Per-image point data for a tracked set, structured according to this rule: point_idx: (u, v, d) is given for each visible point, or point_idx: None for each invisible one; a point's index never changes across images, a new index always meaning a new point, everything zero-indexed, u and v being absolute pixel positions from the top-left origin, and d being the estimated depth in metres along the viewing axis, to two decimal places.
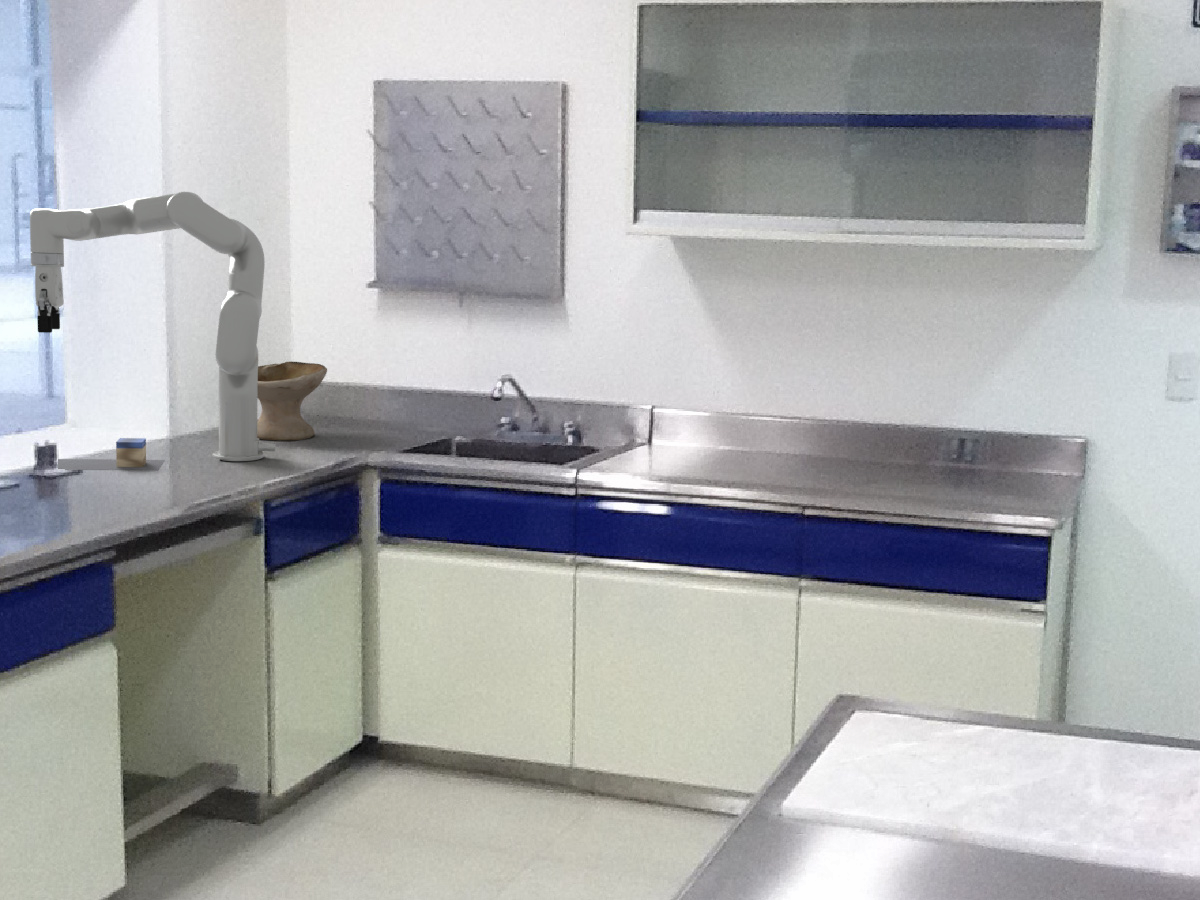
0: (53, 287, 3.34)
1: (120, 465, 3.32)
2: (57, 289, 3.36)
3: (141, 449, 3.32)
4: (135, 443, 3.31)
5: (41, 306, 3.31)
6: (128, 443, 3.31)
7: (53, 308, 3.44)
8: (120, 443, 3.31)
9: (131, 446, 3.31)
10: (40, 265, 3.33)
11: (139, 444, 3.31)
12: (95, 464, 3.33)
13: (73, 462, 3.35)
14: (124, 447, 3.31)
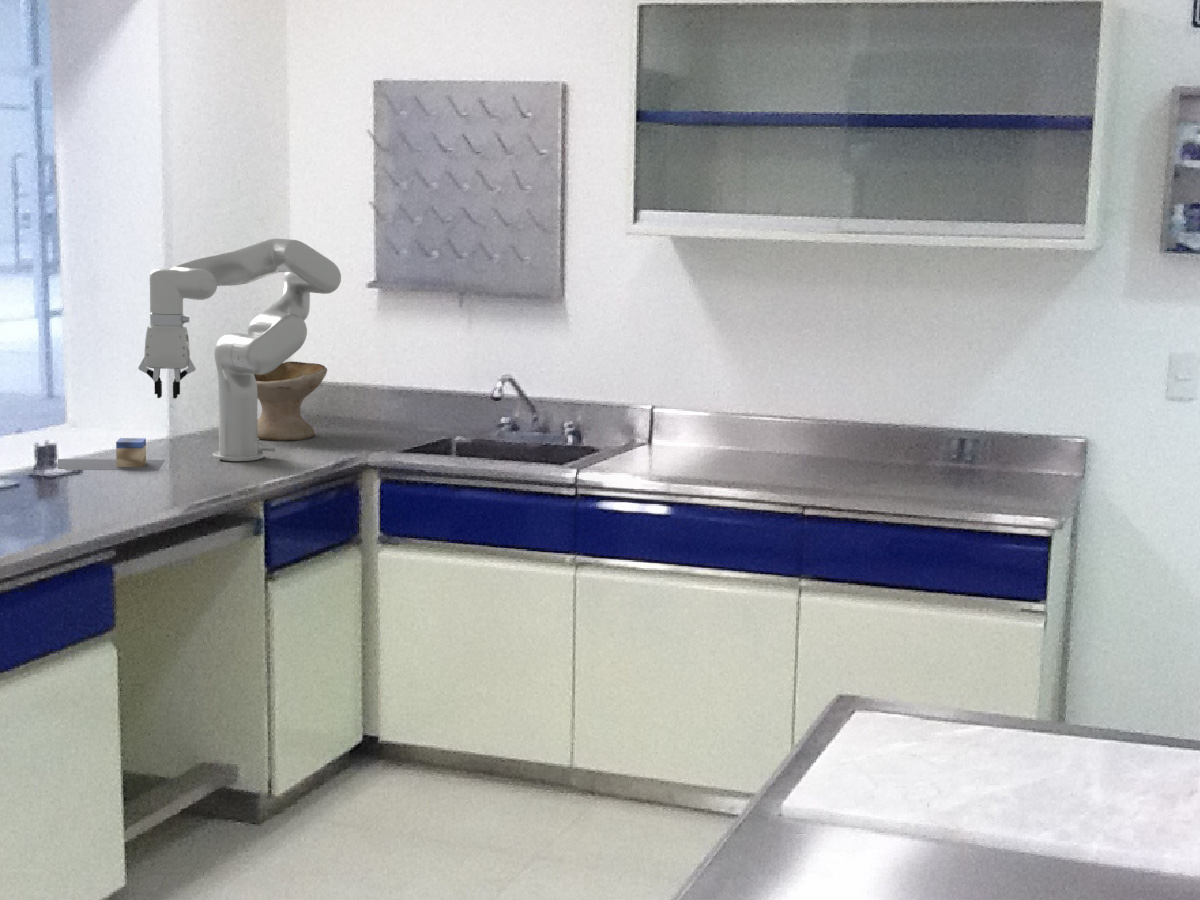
0: None
1: (120, 465, 3.32)
2: None
3: (141, 449, 3.32)
4: (135, 443, 3.31)
5: (188, 373, 3.34)
6: (128, 443, 3.31)
7: None
8: (120, 443, 3.31)
9: (131, 446, 3.31)
10: (181, 326, 3.31)
11: (139, 444, 3.31)
12: (95, 464, 3.33)
13: (73, 462, 3.35)
14: (124, 447, 3.31)
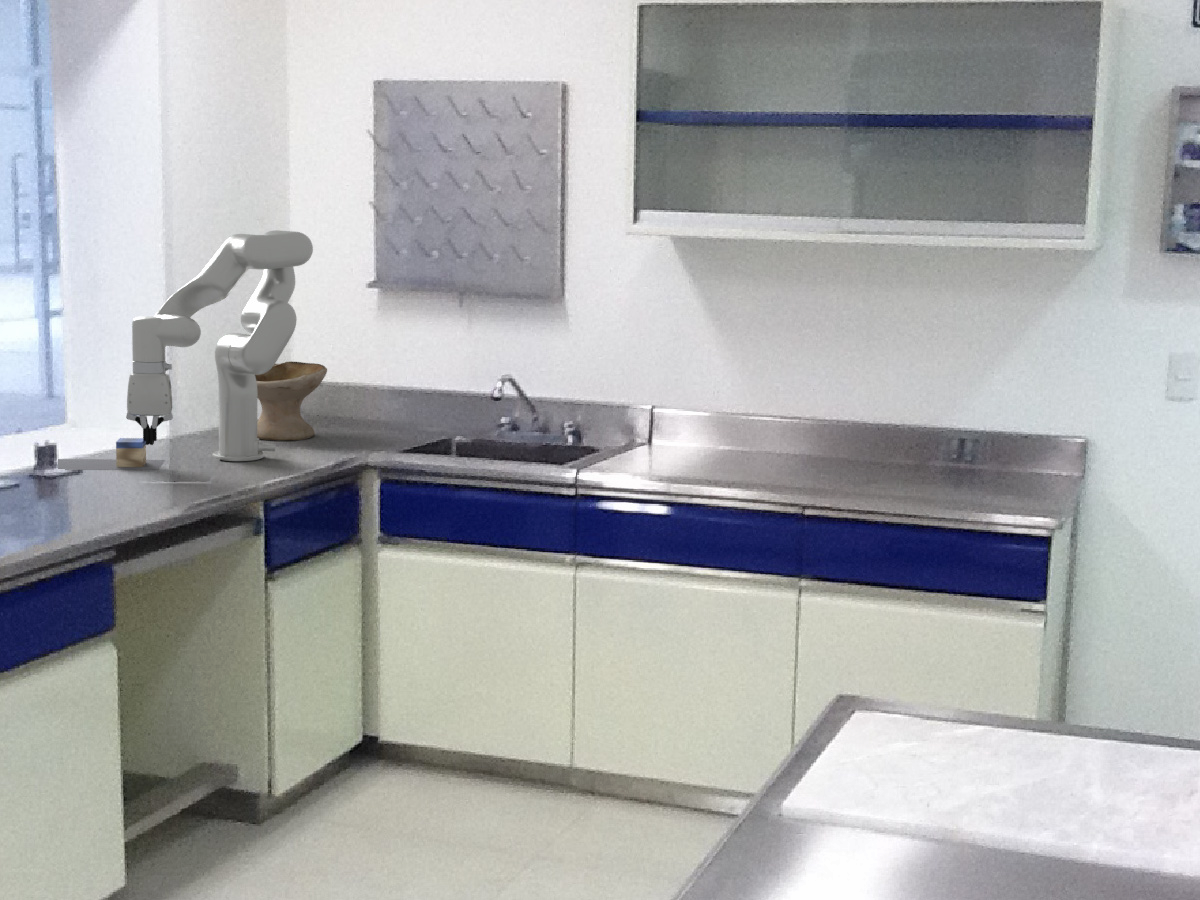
0: None
1: (120, 465, 3.32)
2: None
3: (141, 449, 3.32)
4: (135, 443, 3.31)
5: None
6: (128, 443, 3.31)
7: None
8: (120, 443, 3.31)
9: (131, 446, 3.31)
10: (164, 373, 3.32)
11: (139, 444, 3.31)
12: (95, 464, 3.33)
13: (73, 462, 3.35)
14: (124, 447, 3.31)
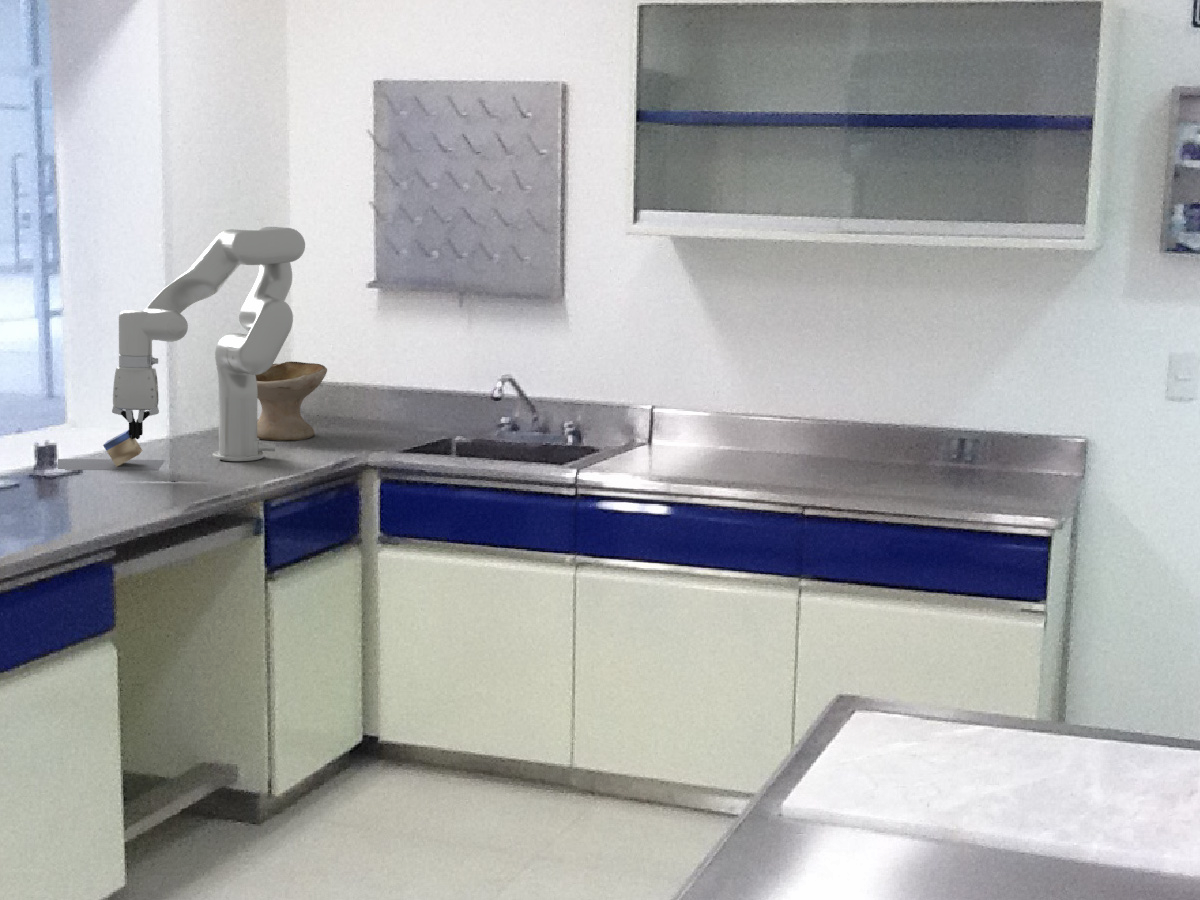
0: None
1: (119, 463, 3.31)
2: None
3: (128, 439, 3.31)
4: (120, 437, 3.30)
5: (150, 415, 3.34)
6: (114, 440, 3.30)
7: None
8: (107, 444, 3.30)
9: (118, 441, 3.31)
10: (150, 368, 3.31)
11: (124, 436, 3.31)
12: (95, 464, 3.33)
13: (73, 462, 3.35)
14: (112, 446, 3.30)
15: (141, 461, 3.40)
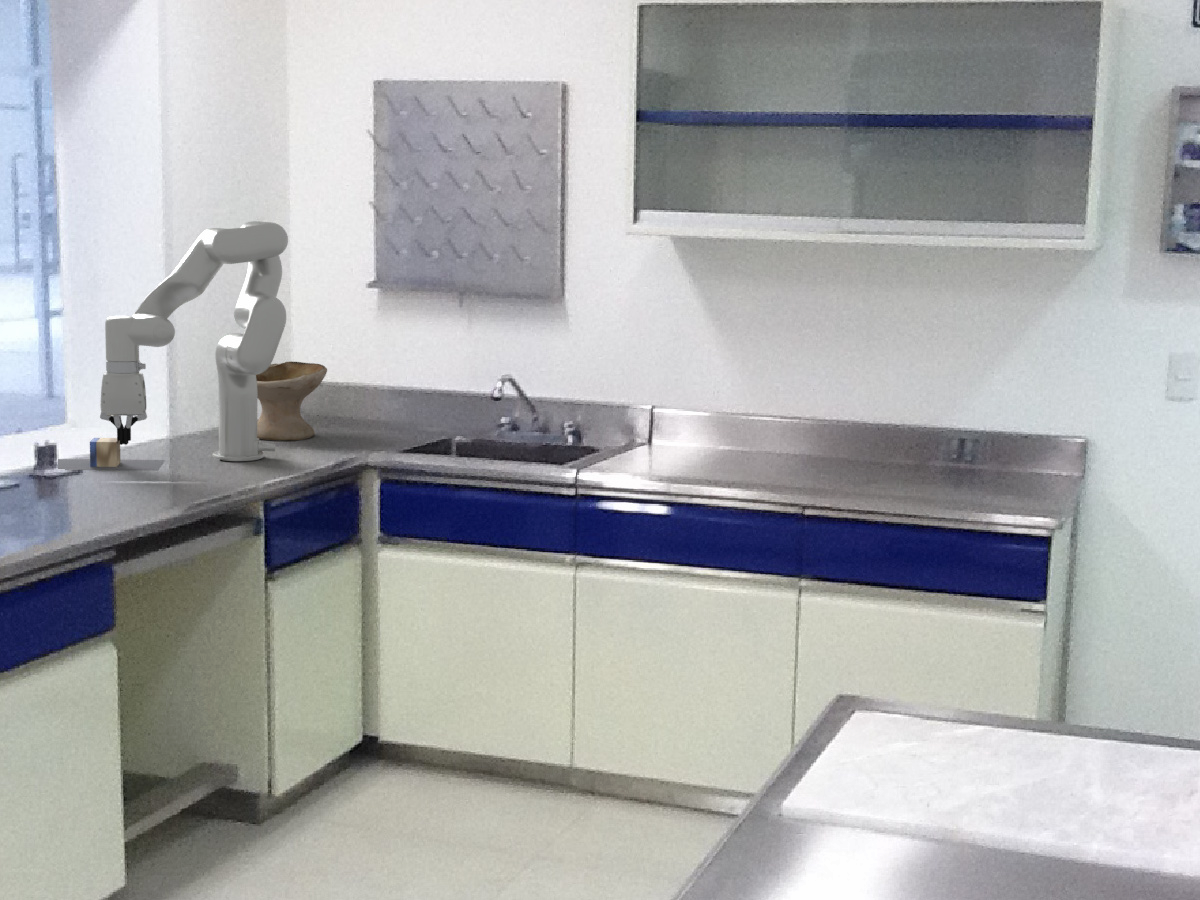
0: None
1: (115, 462, 3.31)
2: None
3: (97, 442, 3.30)
4: (91, 448, 3.30)
5: (139, 420, 3.33)
6: (91, 455, 3.30)
7: None
8: (91, 462, 3.30)
9: (94, 452, 3.30)
10: (137, 373, 3.31)
11: (92, 444, 3.30)
12: None
13: (73, 462, 3.35)
14: (95, 458, 3.30)
15: (141, 461, 3.40)
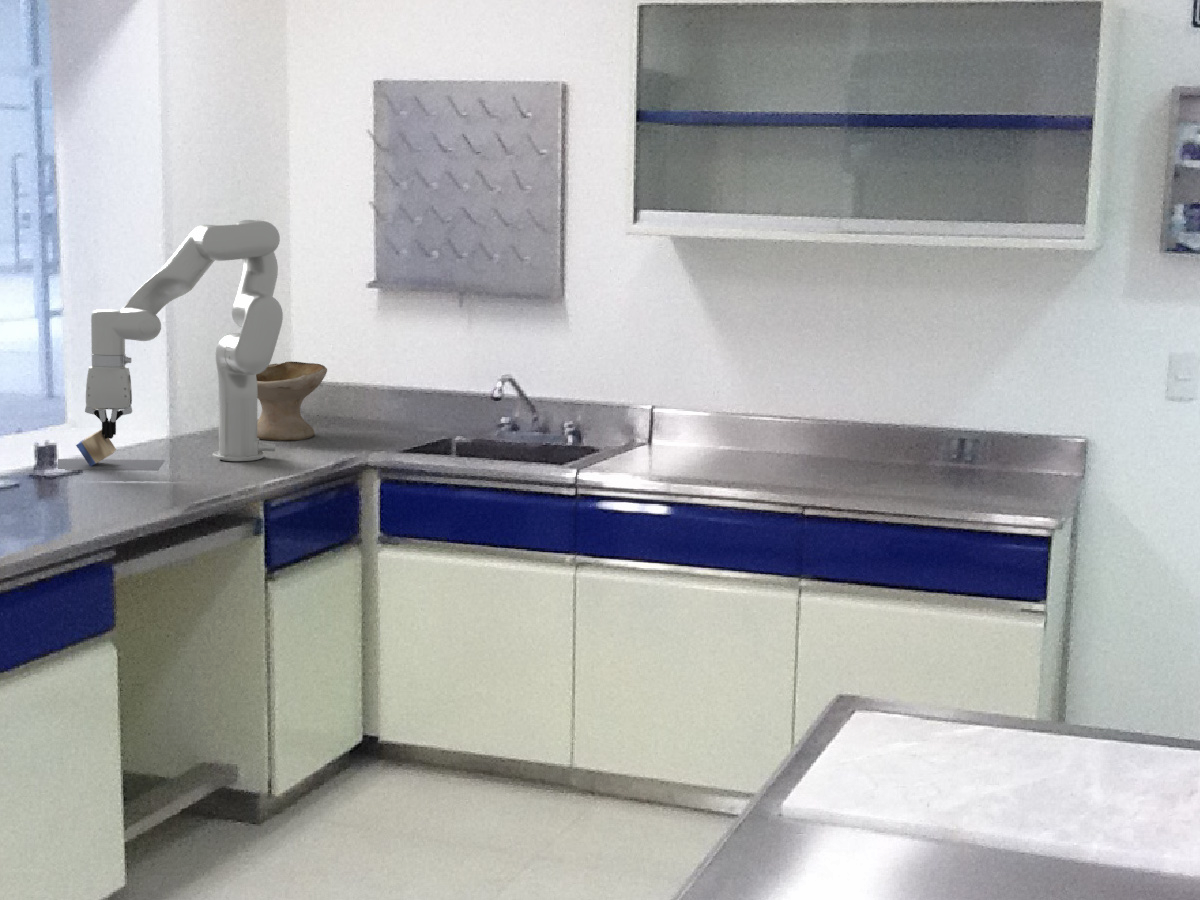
0: None
1: (109, 450, 3.31)
2: None
3: (82, 442, 3.29)
4: (80, 450, 3.29)
5: (124, 414, 3.32)
6: (84, 456, 3.30)
7: None
8: (89, 462, 3.30)
9: (85, 452, 3.30)
10: (123, 367, 3.30)
11: (79, 446, 3.29)
12: (95, 464, 3.33)
13: (73, 462, 3.35)
14: (90, 457, 3.30)
15: (141, 461, 3.40)
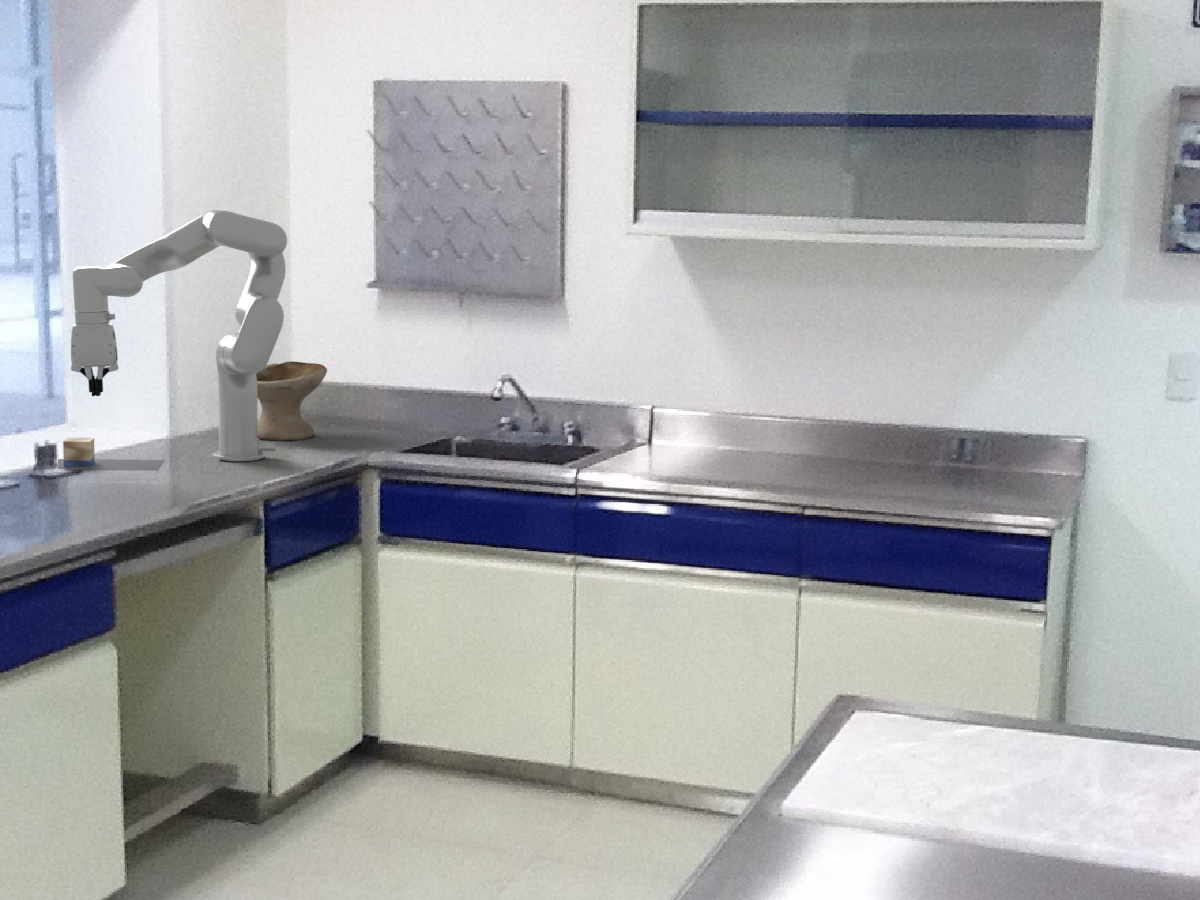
0: None
1: (85, 442, 3.29)
2: None
3: (64, 459, 3.29)
4: (70, 465, 3.29)
5: (110, 371, 3.32)
6: (77, 465, 3.30)
7: None
8: (85, 465, 3.30)
9: (74, 462, 3.30)
10: (107, 323, 3.29)
11: (66, 464, 3.29)
12: (95, 464, 3.33)
13: None
14: (81, 461, 3.30)
15: (141, 461, 3.40)
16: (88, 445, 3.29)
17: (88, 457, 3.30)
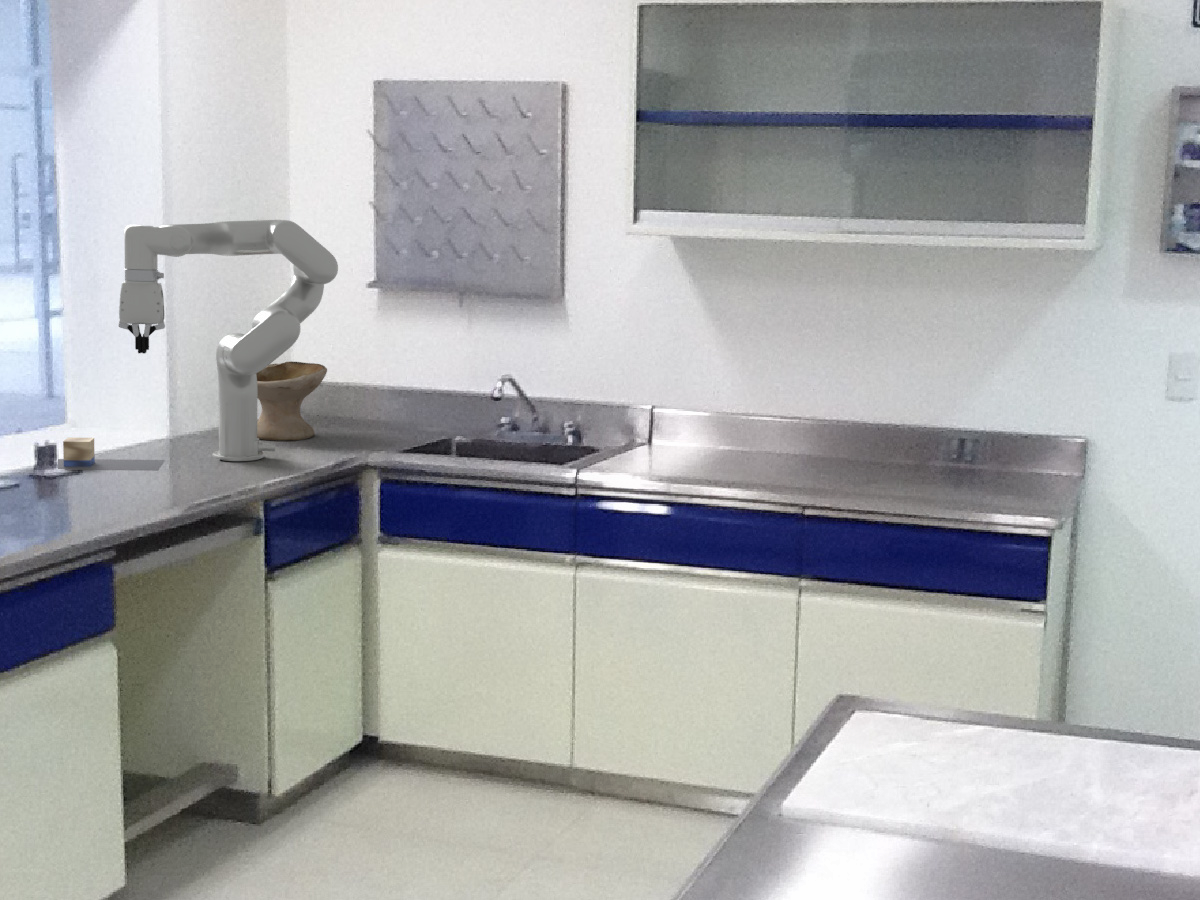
0: None
1: (85, 442, 3.29)
2: None
3: (64, 459, 3.29)
4: (70, 465, 3.29)
5: (157, 329, 3.36)
6: (77, 465, 3.30)
7: None
8: (85, 465, 3.30)
9: (74, 462, 3.30)
10: (156, 282, 3.34)
11: (66, 464, 3.29)
12: (95, 464, 3.33)
13: None
14: (81, 461, 3.30)
15: (141, 461, 3.40)
16: (88, 445, 3.29)
17: (88, 457, 3.30)
